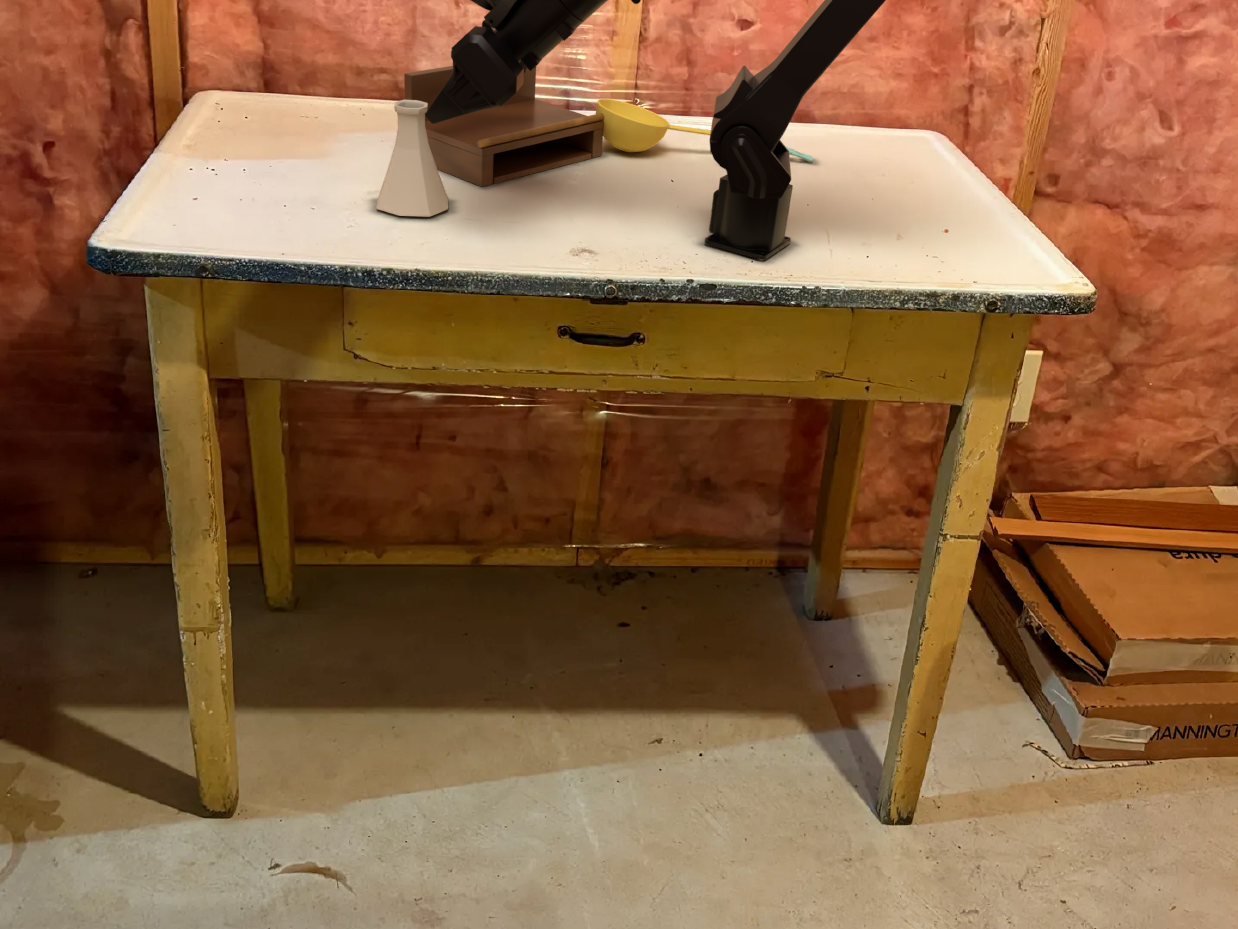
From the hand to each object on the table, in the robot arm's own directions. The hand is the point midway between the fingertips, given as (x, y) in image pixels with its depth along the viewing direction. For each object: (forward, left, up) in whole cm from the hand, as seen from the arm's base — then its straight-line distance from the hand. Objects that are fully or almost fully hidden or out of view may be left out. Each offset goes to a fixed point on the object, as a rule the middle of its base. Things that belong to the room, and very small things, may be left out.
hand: (440, 106), depth 107 cm
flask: (+3, +1, -10) cm, 11 cm away
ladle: (-10, -36, -10) cm, 39 cm away
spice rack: (+5, -19, -10) cm, 22 cm away
